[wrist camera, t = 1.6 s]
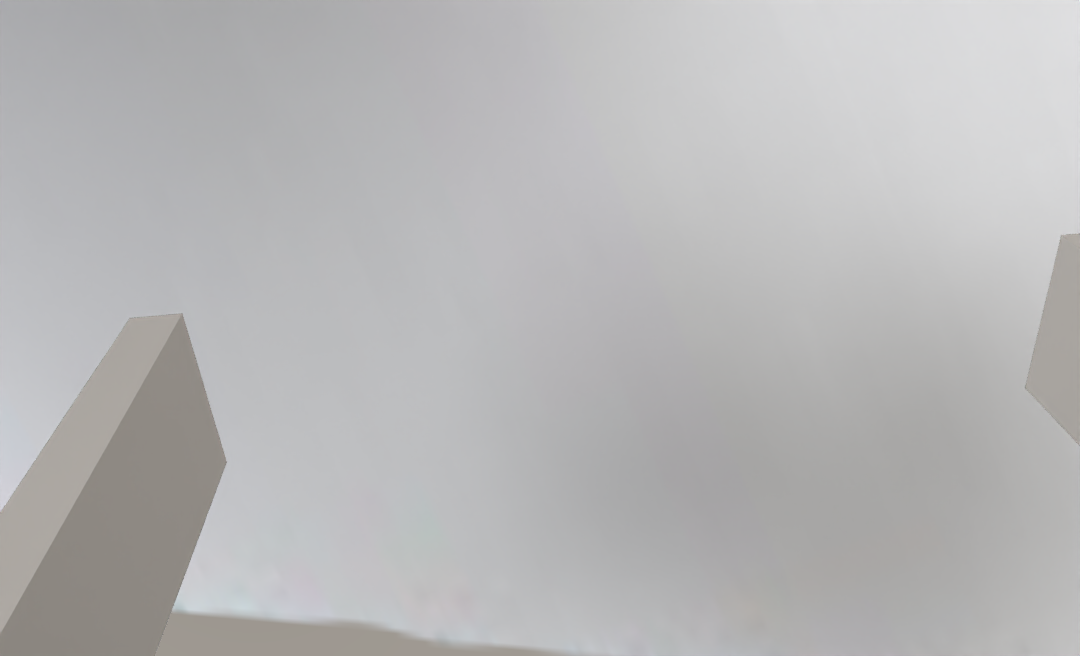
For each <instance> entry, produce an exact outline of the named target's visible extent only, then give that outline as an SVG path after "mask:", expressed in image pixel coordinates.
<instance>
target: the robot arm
mask: <svg viewBox="0 0 1080 656" xmlns="http://www.w3.org/2000/svg"><path fill="white" fill-rule="evenodd" d="M1025 389H1026V390H1027V391H1028V392H1029V393H1030V394H1031V395H1032V396H1033V397H1034V398H1035V399H1036V400H1037V401H1038V402H1039V403H1040V404H1041V405H1042V407H1043V408H1044V409H1045V410H1046V411H1047V412H1048V413H1049V414H1050V415H1051V416H1052V417H1053V418H1054V419H1055V420H1056V421H1057V422H1058V423H1059V424H1060V425H1061V427H1062V428H1063V429H1064V430H1065V431H1066V432H1067V433H1068V434H1069V435H1070V436H1071V437H1072V438H1073V439H1074V440H1075V441H1076V442H1077V443H1078V444H1079V445H1080V234H1069V235H1061V238H1060V242H1059V246H1058V251H1057V255H1056V259H1055V263H1054V268H1053V272H1052V276H1051V280H1050V284H1049V289H1048V293H1047V297H1046V301H1045V305H1044V310H1043V314H1042V318H1041V322H1040V327H1039V331H1038V335H1037V339H1036V343H1035V348H1034V352H1033V356H1032V360H1031V364H1030V369H1029V373H1028V377H1027V381H1026V385H1025ZM226 463H227V461H226V458H225V455H224V451H223V448H222V445H221V441H220V438H219V435H218V431H217V428H216V425H215V421H214V418H213V415H212V411H211V408H210V404H209V401H208V398H207V394H206V391H205V388H204V384H203V381H202V378H201V374H200V371H199V368H198V364H197V361H196V358H195V354H194V351H193V348H192V344H191V341H190V338H189V334H188V331H187V328H186V324H185V321H184V318H183V314H171V315H159V316H148V317H137V318H130V319H129V320H128V322H127V323H126V325H125V326H124V328H123V329H122V331H121V332H120V334H119V335H118V337H117V338H116V340H115V341H114V343H113V344H112V346H111V347H110V349H109V350H108V352H107V353H106V355H105V356H104V358H103V359H102V361H101V362H100V364H99V365H98V367H97V368H96V370H95V371H94V373H93V374H92V376H91V377H90V379H89V380H88V382H87V383H86V385H85V386H84V388H83V389H82V391H81V392H80V394H79V395H78V397H77V398H76V400H75V401H74V403H73V404H72V406H71V407H70V409H69V410H68V412H67V413H66V415H65V416H64V418H63V419H62V421H61V422H60V424H59V425H58V427H57V428H56V430H55V431H54V433H53V434H52V436H51V437H50V439H49V440H48V442H47V443H46V445H45V446H44V448H43V449H42V451H41V452H40V454H39V455H38V457H37V458H36V460H35V461H34V463H33V464H32V466H31V467H30V469H29V470H28V472H27V473H26V475H25V476H24V478H23V479H22V481H21V482H20V484H19V485H18V487H17V488H16V490H15V491H14V493H13V494H12V496H11V497H10V499H9V500H8V502H7V503H6V505H5V506H4V508H3V509H2V511H1V513H0V656H155V654H156V651H157V649H158V646H159V643H160V640H161V638H162V635H163V632H164V630H165V627H166V624H167V622H168V619H169V616H170V614H171V611H172V608H173V606H174V603H175V600H176V597H177V595H178V592H179V589H180V587H181V584H182V581H183V579H184V576H185V573H186V571H187V568H188V565H189V562H190V560H191V557H192V554H193V552H194V549H195V546H196V544H197V541H198V538H199V536H200V533H201V530H202V527H203V525H204V522H205V519H206V517H207V514H208V511H209V509H210V506H211V503H212V501H213V498H214V495H215V493H216V490H217V487H218V484H219V482H220V479H221V476H222V474H223V471H224V468H225V466H226Z"/></svg>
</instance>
